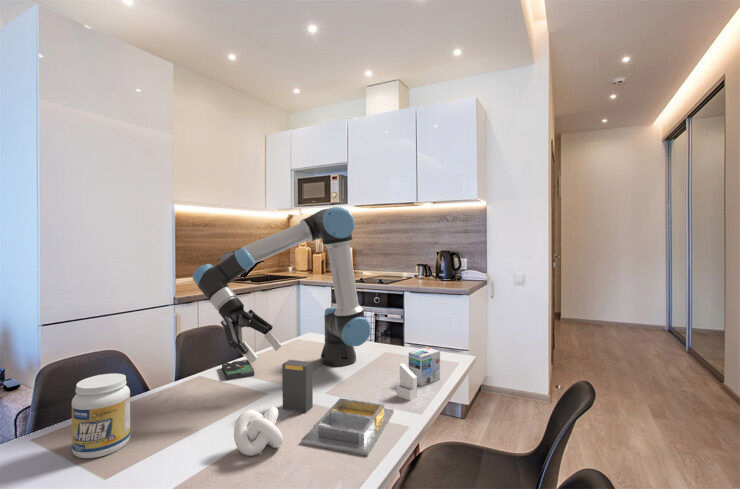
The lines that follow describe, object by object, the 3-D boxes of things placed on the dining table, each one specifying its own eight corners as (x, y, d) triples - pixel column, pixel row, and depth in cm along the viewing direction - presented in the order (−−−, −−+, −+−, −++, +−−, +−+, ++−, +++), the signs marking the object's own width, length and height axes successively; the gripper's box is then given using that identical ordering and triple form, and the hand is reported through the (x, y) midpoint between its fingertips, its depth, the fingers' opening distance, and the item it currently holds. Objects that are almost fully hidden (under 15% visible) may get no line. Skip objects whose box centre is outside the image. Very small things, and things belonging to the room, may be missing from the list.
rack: (338, 404, 121) (338, 393, 121) (393, 412, 115) (393, 401, 115) (301, 443, 98) (301, 430, 98) (367, 456, 93) (367, 441, 93)
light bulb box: (421, 386, 136) (421, 356, 135) (407, 381, 141) (407, 352, 140) (440, 379, 143) (440, 350, 142) (426, 374, 148) (426, 346, 147)
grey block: (290, 403, 122) (289, 359, 122) (312, 406, 120) (312, 362, 119) (282, 409, 118) (282, 364, 118) (305, 413, 115) (305, 366, 115)
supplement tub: (64, 465, 89) (63, 393, 89) (80, 440, 100) (79, 375, 100) (126, 453, 94) (125, 385, 94) (134, 430, 105) (133, 369, 105)
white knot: (246, 434, 103) (246, 401, 103) (290, 434, 103) (290, 401, 103) (229, 458, 92) (229, 421, 92) (279, 459, 91) (279, 421, 91)
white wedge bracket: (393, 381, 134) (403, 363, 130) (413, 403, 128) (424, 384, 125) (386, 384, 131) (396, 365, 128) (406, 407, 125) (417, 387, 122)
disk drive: (221, 370, 155) (226, 381, 142) (221, 363, 155) (226, 374, 142) (247, 366, 160) (255, 377, 147) (247, 359, 160) (255, 369, 147)
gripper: (244, 305, 139) (281, 350, 135) (192, 319, 115) (234, 374, 111) (257, 291, 137) (294, 336, 133) (207, 302, 114) (250, 358, 109)
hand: (267, 354), depth 122 cm, fingers open, 13 cm apart
